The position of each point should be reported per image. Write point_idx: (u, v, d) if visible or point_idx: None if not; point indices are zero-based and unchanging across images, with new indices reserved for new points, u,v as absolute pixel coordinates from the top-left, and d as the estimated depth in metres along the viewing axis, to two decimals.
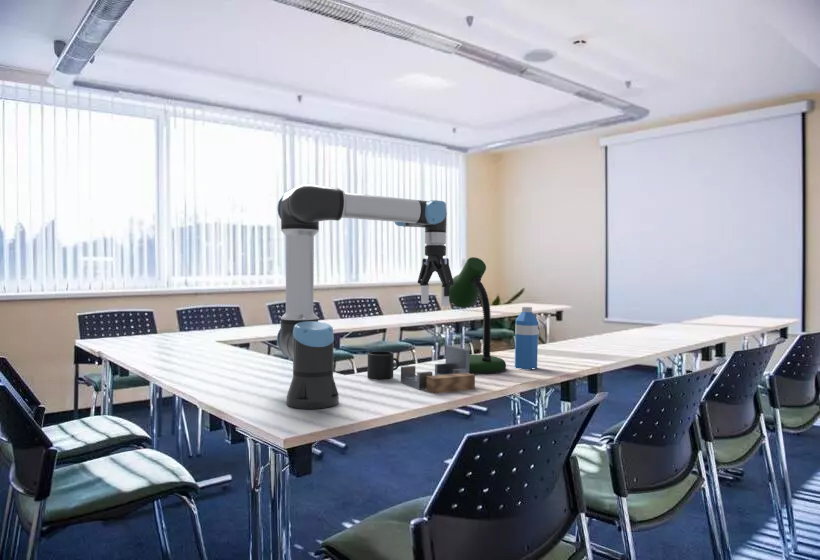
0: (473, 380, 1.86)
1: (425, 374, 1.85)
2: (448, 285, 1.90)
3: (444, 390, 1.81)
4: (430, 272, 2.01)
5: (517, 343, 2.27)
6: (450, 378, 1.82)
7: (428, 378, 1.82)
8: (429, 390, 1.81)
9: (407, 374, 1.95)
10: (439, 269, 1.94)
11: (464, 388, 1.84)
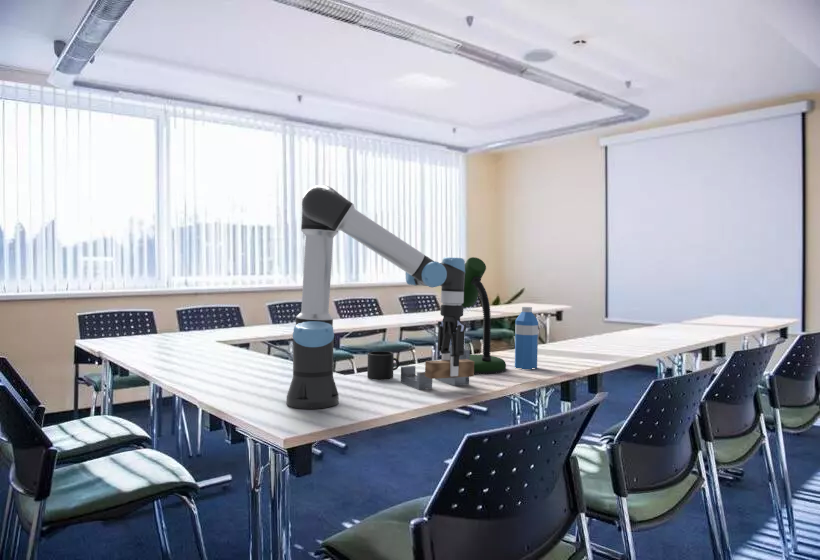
0: (472, 366, 1.86)
1: None
2: (458, 355, 1.80)
3: (442, 375, 1.81)
4: (448, 335, 1.86)
5: (517, 343, 2.27)
6: (449, 363, 1.82)
7: (427, 363, 1.82)
8: (427, 375, 1.81)
9: (407, 374, 1.95)
10: (453, 334, 1.82)
11: (463, 374, 1.84)
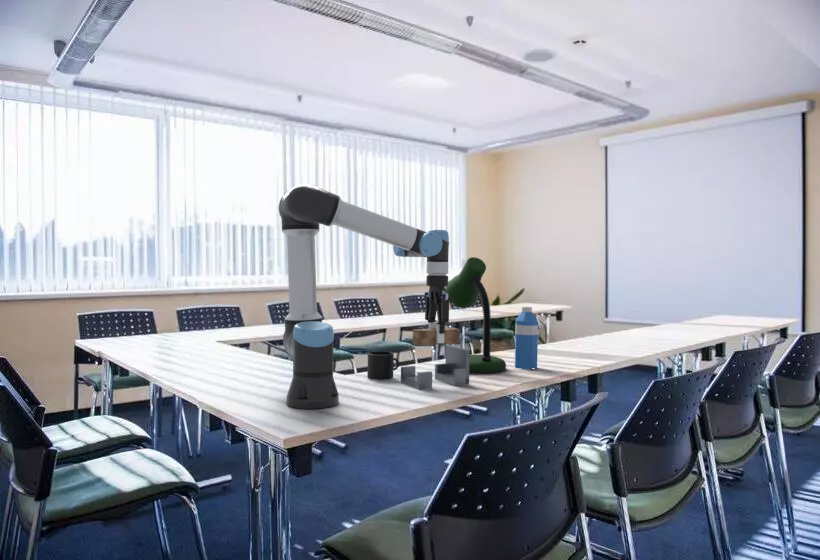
0: (458, 334, 1.94)
1: (425, 374, 1.85)
2: (443, 323, 1.88)
3: (429, 342, 1.89)
4: (434, 304, 1.94)
5: (517, 343, 2.27)
6: (435, 331, 1.90)
7: (414, 331, 1.90)
8: (415, 342, 1.90)
9: (407, 374, 1.95)
10: (439, 303, 1.90)
11: (449, 341, 1.92)
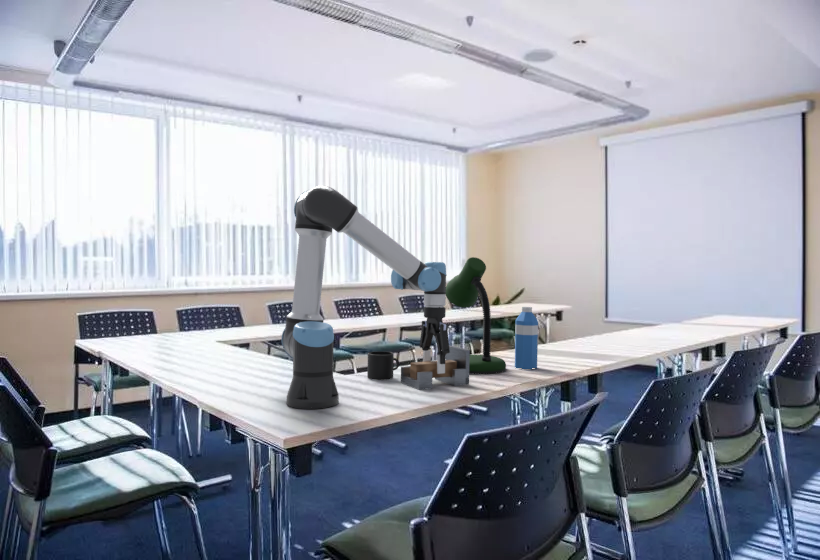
0: (455, 366, 1.96)
1: (425, 374, 1.85)
2: (444, 353, 1.88)
3: None
4: (431, 334, 1.96)
5: (517, 343, 2.27)
6: (433, 364, 1.91)
7: (412, 364, 1.91)
8: (412, 375, 1.91)
9: (407, 374, 1.95)
10: (437, 334, 1.91)
11: (446, 374, 1.94)
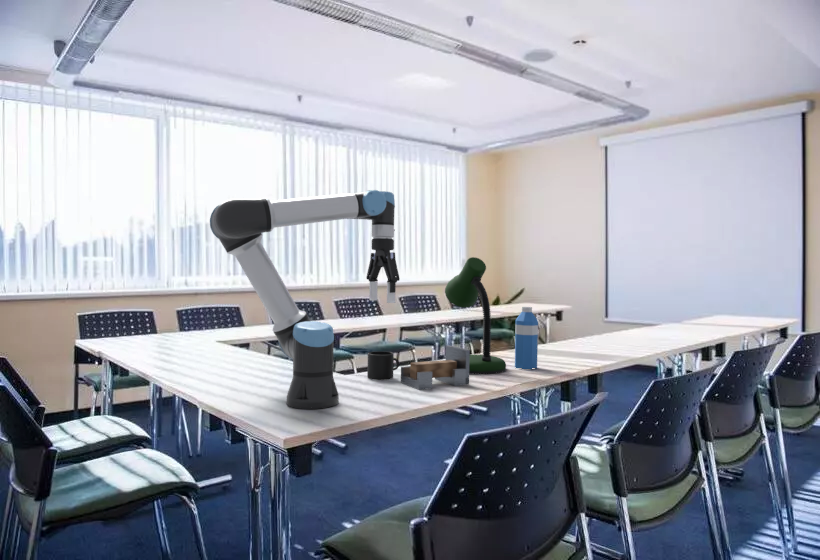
0: (455, 366, 1.96)
1: (425, 374, 1.85)
2: (393, 281, 1.79)
3: None
4: (378, 267, 1.90)
5: (517, 343, 2.27)
6: (433, 364, 1.91)
7: (412, 364, 1.91)
8: (412, 375, 1.91)
9: (407, 374, 1.95)
10: (385, 264, 1.83)
11: (446, 374, 1.94)
